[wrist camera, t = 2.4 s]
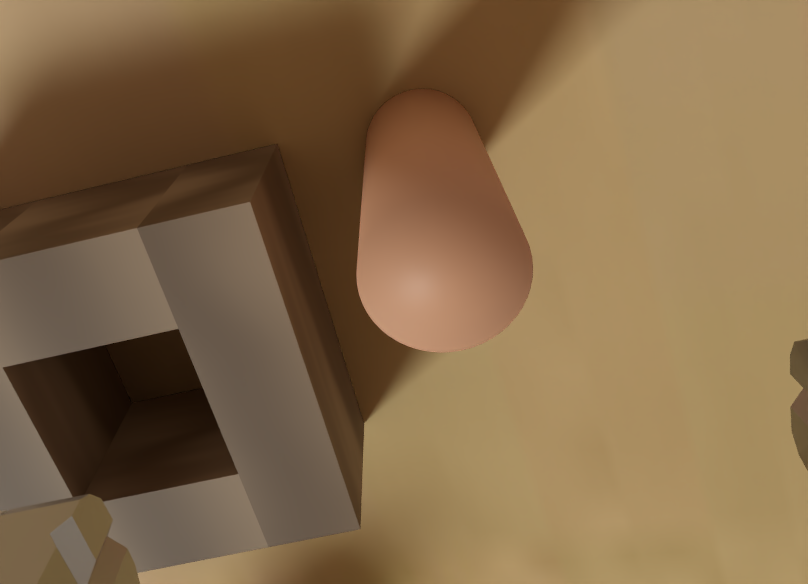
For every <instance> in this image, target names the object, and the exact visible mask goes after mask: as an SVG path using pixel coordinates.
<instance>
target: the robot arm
mask: <svg viewBox="0 0 808 584" xmlns="http://www.w3.org/2000/svg"><path fill="white" fill-rule="evenodd" d="M790 374H791V375H792V376H793V377H794V379H795V380H796V381H797V382H798V383H799V384H800V385H801V386H802V387H803V390H802V391H801V392H800V394H799V395H798V397H797V398H796V400H795V401H794V402H793V404H792V405H791V427H792V434H793V437H794V440H795V444H796V447H797V450H798V454H799V456H800V458H801V460H802V461H803V463H804V465H805V467H806V469H807V470H808V339H804V340H800V341H795V342H794V345H793V348H792V351H791V354H790ZM112 521H113V519H112V517H111V515H110V513H109V512H108V510H107V508H106V506H105V505H104V503H103V501H102V499H101V498H99V497H96V496H94V495H91V494H86V495H81V496H76V497H71V498H65V499H60V500H55V501H50V502H45V503H40V504H35V505H30V506H25V507H19V508H14V509H11V510H9V511H0V584H140V582H139V578H138V574H137V570H136V566H135V563H134V561H133V559H132V557H131V555H130V552H129V550H128V548H126V547H125V546H123V545H121V544H120V543H118V542H116V541H114V540H113V539H111V538H109V537H108V534H109V531H110V528H111V524H112Z"/></svg>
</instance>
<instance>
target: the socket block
mask: <svg viewBox="0 0 808 584" xmlns="http://www.w3.org/2000/svg"><path fill="white" fill-rule="evenodd" d="M175 329H179V331H180V334H181V336H182V339H183V341H184V343H185V346H186V348H187V351H188V353H189V356H190V358H191V360H192V363H193V365H194V368H195V370H196V372H197V375H198V377H199V380H200V382H201V385H202V387H203V388H202V389H197V390H193V391H188V392H183V393H178V394H174V395H169V396H164V397H160V398H155V399H150V400H146V401H141V402H136V403H131V401H130V399H129V397H128V395H127V392H126V390H125V388H124V386H123V384H122V382H121V380H120V377H119V375H118V373H117V371H116V369H115V367H114V365H113V362H112V360H111V358H110V356H109V354H108V352H107V350H106V347H105V345H107V344H111V343H116V342H121V341H125V340H130V339H134V338H139V337H143V336H148V335H152V334H157V333H161V332H166V331H170V330H175ZM363 440H364V423H363V419H362V416H361V413H360V410H359V406H358V403H357V400H356V397H355V393H354V390H353V387H352V384H351V381H350V377H349V374H348V371H347V368H346V364H345V361H344V358H343V355H342V352H341V348H340V345H339V342H338V339H337V335H336V332H335V329H334V326H333V322H332V319H331V316H330V313H329V310H328V306H327V303H326V300H325V297H324V293H323V290H322V287H321V284H320V280H319V277H318V274H317V271H316V268H315V264H314V261H313V258H312V255H311V251H310V248H309V245H308V242H307V238H306V235H305V232H304V229H303V226H302V222H301V219H300V216H299V213H298V209H297V206H296V203H295V200H294V197H293V193H292V190H291V187H290V184H289V180H288V177H287V174H286V171H285V167H284V164H283V161H282V158H281V155H280V151H279V148H278V145H277V144H275V145H271V146H266V147H262V148H258V149H254V150H250V151H245V152H241V153H237V154H233V155H229V156H224V157H220V158H216V159H212V160H207V161H203V162H199V163H195V164H191V165H186V166H182V167H178V168H174V169H170V170H165V171H161V172H157V173H153V174H148V175H144V176H140V177H136V178H132V179H127V180H123V181H119V182H115V183H111V184H106V185H102V186H98V187H94V188H90V189H85V190H81V191H77V192H73V193H68V194H64V195H60V196H56V197H52V198H47V199H43V200H39V201H35V202H31V203H26V204H22V205H18V206H14V207H9V208H5V209H1V210H0V511H9V510H11V509H14V508H19V507H25V506H30V505H35V504H40V503H45V502H50V501H55V500H60V499H65V498H71V497H76V496H81V495H86V494H91V495H94V496H96V497H99V498H101V499H102V501H103V503H104V505H105V506H106V508H107V510H108V512H109V513H110V515H111V517H112V519H113V521H112V524H111V528H110V531H109V534H108V537H109V538H111V539H113V540H114V541H116V542H118V543H120V544H121V545H123V546H125V547H126V548H128V550H129V552H130V555H131V557H132V559H133V561H134V563H135V566H136V570H137V573H139V572H144V571H149V570H154V569H159V568H165V567H170V566H175V565H180V564H185V563H190V562H195V561H200V560H205V559H210V558H216V557H221V556H226V555H231V554H236V553H241V552H246V551H251V550H256V549H261V548H267V547H272V546H277V545H282V544H287V543H292V542H297V541H302V540H307V539H312V538H318V537H323V536H328V535H333V534H338V533H343V532H348V531H353V530H358V529H360V524H361V496H362V468H363Z"/></svg>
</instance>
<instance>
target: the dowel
mask: <svg viewBox="0 0 808 584" xmlns="http://www.w3.org/2000/svg"><path fill="white" fill-rule="evenodd" d="M356 276H357V287H358V292H359V296H360V298H361V301H362V304H363V306H364V308H365V310H366V312H367V313H368V315H369V316H370V318H371V319H372V320H373V322H374V323H375V324H376V325H377V326H378V327H379V328H380V329H381V330H382V331H383V332H385V333H386V334H387V335H388V336H390V337H391V338H393V339H394V340H396V341H398V342H400V343H402V344H404V345H406V346H409V347H412V348H415V349H418V350H423V351H429V352H454V351H460V350H465V349H468V348H472V347H475V346H477V345H480V344H482V343H484V342H486V341H488V340H490V339H492V338H493V337H495V336H496V335H498V334H499V333H500V332H502V331H503V330H504V329H505V328H506V327H507V326H508V325H510V323H511V322H512V321H513V320H514V319H515V318H516V316H517V315H518V314H519V312H520V311H521V309H522V308H523V306H524V303H525V301H526V299H527V297H528V294H529V291H530V288H531V283H532V278H533V262H532V255H531V251H530V247H529V244H528V242H527V239H526V237H525V235H524V232H523V230H522V228H521V226H520V224H519V221H518V219H517V217H516V215H515V213H514V210H513V208H512V206H511V204H510V202H509V199H508V197H507V195H506V193H505V191H504V189H503V186H502V184H501V182H500V180H499V178H498V175H497V173H496V171H495V169H494V167H493V164H492V162H491V160H490V158H489V156H488V153H487V151H486V149H485V147H484V145H483V142H482V140H481V138H480V136H479V134H478V132H477V129H476V127H475V125H474V123H473V121H472V118H471V117H470V115H469V113H468V112H467V111H466V109H465V108H464V107H463V106H462V105H461V104H460V103H459V102H458V101H457V100H455V99H454V98H453V97H451V96H449V95H447V94H445V93H443V92H440V91H436V90H432V89H414V90H408V91H405V92H402V93H400V94H398V95H396V96H394V97H392V98H391V99H389V100H388V101H387V102H385V103H384V104H383V105H382V106H381V107H380V108H379V109H378V111H377V112H376V114H375V115H374V117H373V119H372V120H371V122H370V125H369V128H368V131H367V136H366V148H365V162H364V176H363V190H362V203H361V217H360V231H359V245H358V258H357V272H356Z"/></svg>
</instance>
